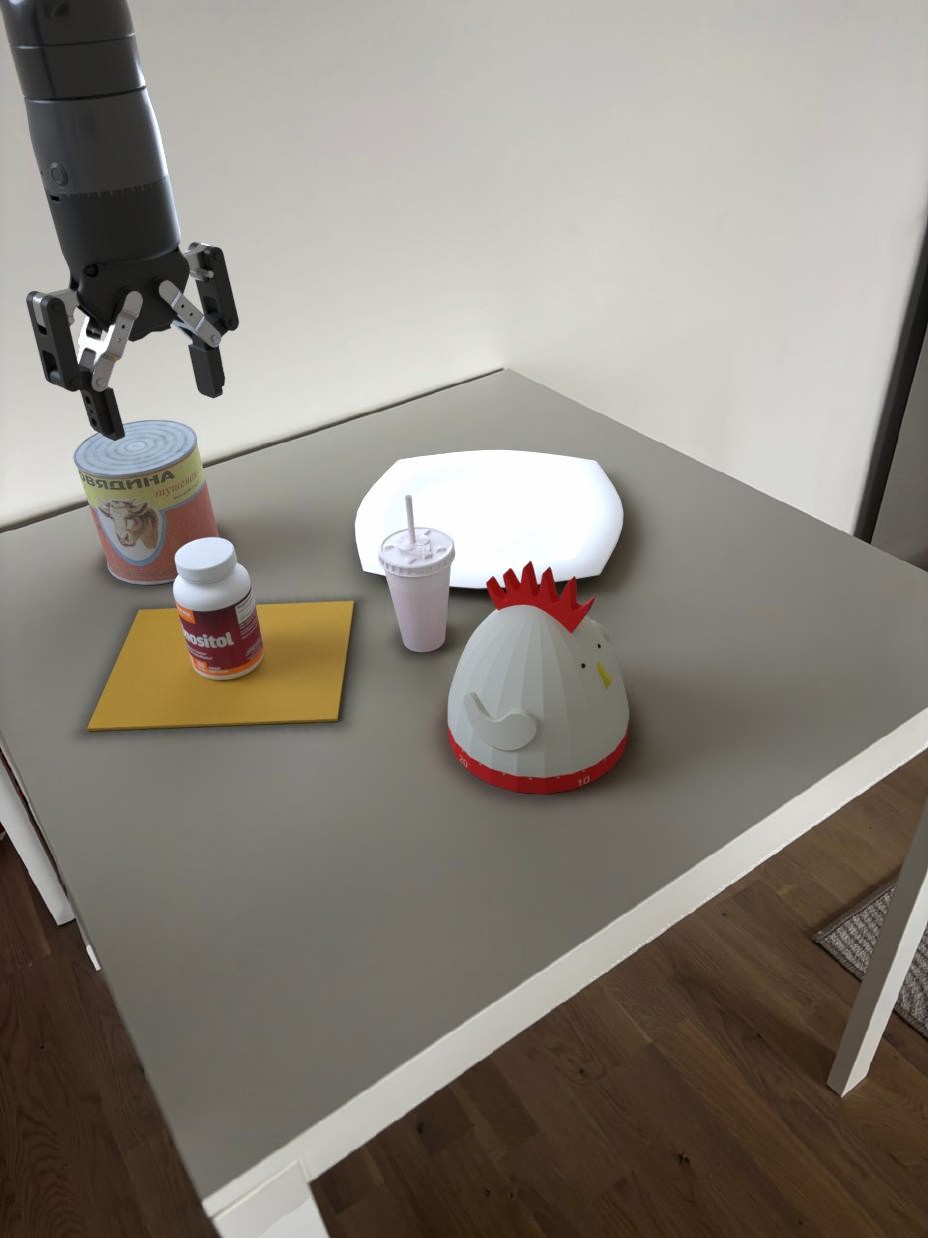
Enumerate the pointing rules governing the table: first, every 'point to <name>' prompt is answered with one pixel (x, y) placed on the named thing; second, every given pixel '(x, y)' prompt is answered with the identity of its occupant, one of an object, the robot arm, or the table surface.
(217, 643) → the pill bottle
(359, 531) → the plate
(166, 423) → the canned food
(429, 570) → the smoothie
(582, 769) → the kitchen timer
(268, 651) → the cloth
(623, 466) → the table surface
